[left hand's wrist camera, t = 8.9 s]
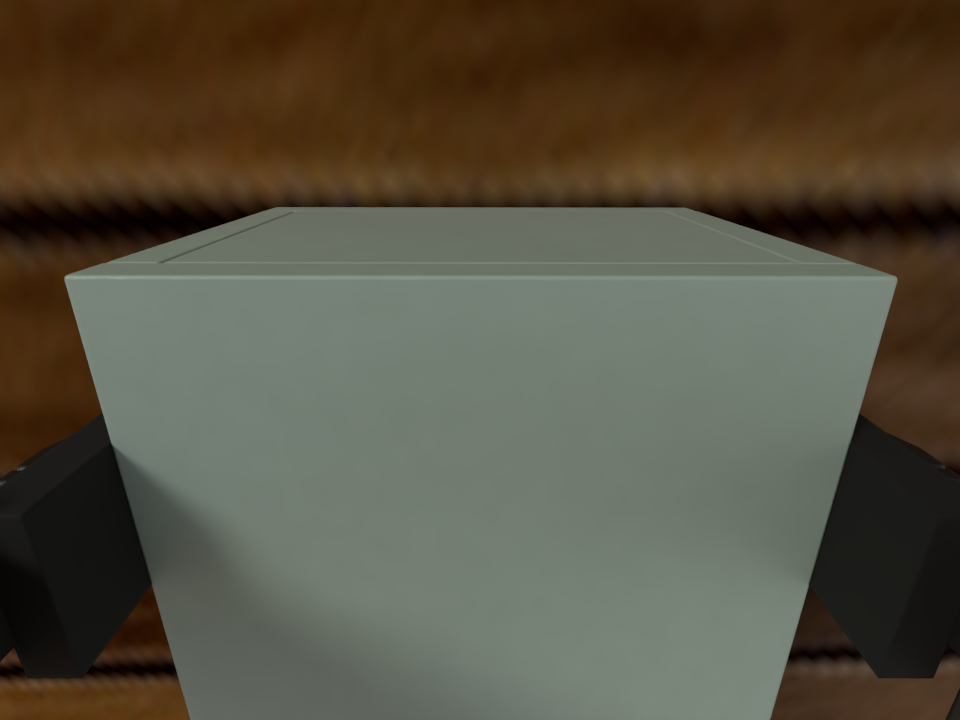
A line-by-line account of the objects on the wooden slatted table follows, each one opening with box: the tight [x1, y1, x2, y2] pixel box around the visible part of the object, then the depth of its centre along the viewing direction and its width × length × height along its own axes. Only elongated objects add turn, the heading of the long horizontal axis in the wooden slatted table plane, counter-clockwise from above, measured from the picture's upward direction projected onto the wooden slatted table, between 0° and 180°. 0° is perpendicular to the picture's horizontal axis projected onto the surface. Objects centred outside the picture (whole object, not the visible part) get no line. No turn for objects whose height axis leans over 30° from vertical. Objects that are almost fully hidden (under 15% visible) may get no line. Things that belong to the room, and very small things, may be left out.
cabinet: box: [65, 207, 897, 720], centre depth 14 cm, size 18×11×8 cm, turn 0°
